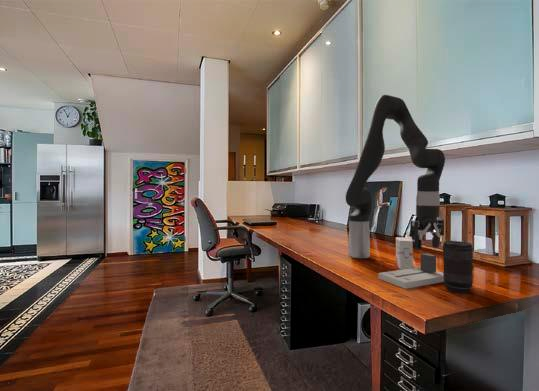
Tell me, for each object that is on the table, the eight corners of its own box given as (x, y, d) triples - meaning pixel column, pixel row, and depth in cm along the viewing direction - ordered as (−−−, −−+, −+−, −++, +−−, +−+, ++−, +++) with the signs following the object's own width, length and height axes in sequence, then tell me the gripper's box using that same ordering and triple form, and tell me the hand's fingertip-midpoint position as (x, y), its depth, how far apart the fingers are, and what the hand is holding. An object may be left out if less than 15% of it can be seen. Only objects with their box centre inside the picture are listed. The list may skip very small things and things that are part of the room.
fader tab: (420, 270, 107) (420, 253, 107) (426, 269, 108) (426, 253, 108) (430, 273, 104) (430, 256, 104) (436, 272, 105) (436, 255, 105)
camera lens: (445, 283, 98) (444, 239, 98) (474, 288, 93) (474, 242, 93) (440, 290, 92) (440, 243, 92) (471, 296, 87) (471, 246, 87)
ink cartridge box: (395, 264, 125) (395, 230, 125) (407, 264, 124) (407, 230, 124) (399, 269, 117) (399, 233, 116) (413, 270, 116) (413, 233, 115)
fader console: (378, 278, 105) (378, 272, 105) (421, 271, 113) (421, 266, 113) (405, 288, 94) (405, 282, 94) (450, 280, 102) (450, 274, 102)
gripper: (432, 203, 112) (432, 245, 112) (404, 203, 106) (403, 247, 107) (451, 204, 105) (450, 248, 105) (421, 205, 99) (421, 252, 100)
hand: (426, 248), depth 106 cm, fingers open, 8 cm apart
